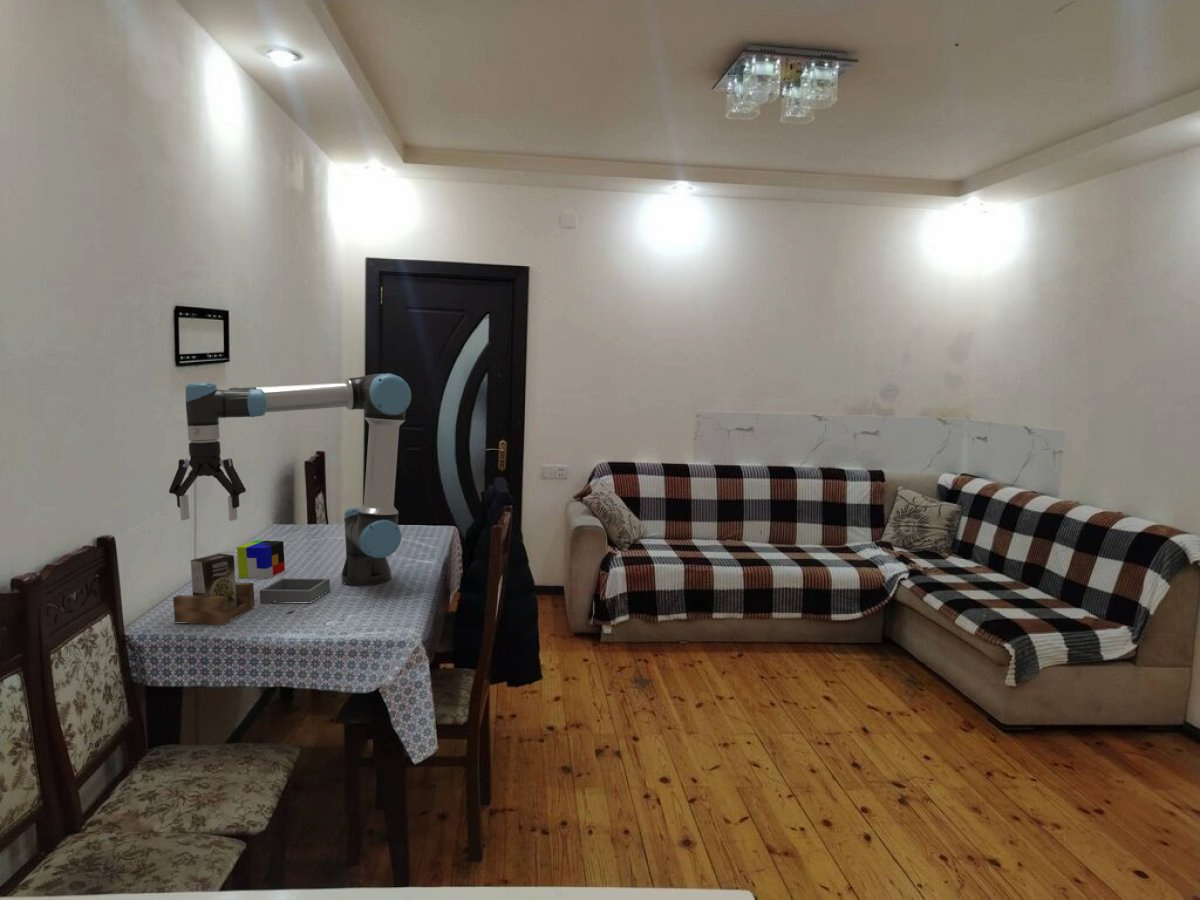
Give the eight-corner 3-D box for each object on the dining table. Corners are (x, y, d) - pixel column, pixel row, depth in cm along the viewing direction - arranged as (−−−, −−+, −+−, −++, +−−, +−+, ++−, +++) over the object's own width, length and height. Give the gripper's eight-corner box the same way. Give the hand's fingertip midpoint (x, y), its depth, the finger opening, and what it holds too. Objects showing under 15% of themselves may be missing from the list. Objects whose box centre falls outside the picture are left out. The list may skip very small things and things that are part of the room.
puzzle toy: (266, 579, 257) (264, 548, 256) (238, 577, 259) (236, 547, 258) (285, 571, 267) (283, 541, 266) (257, 569, 269) (256, 540, 268)
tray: (330, 590, 243) (329, 578, 243) (310, 603, 230) (310, 591, 230) (282, 589, 244) (281, 578, 244) (260, 602, 232) (259, 590, 231)
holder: (254, 607, 228) (253, 582, 227) (225, 624, 213) (223, 598, 212) (207, 606, 229) (205, 582, 228) (174, 623, 214) (173, 597, 213)
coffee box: (208, 621, 215) (204, 562, 214) (193, 618, 218) (189, 559, 217) (238, 612, 223) (234, 554, 221) (223, 608, 226) (219, 552, 225)
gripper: (150, 442, 213) (156, 521, 215) (241, 442, 211) (246, 522, 213) (168, 439, 220) (173, 516, 223) (256, 439, 218) (260, 517, 220)
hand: (209, 519), depth 218 cm, fingers open, 13 cm apart
